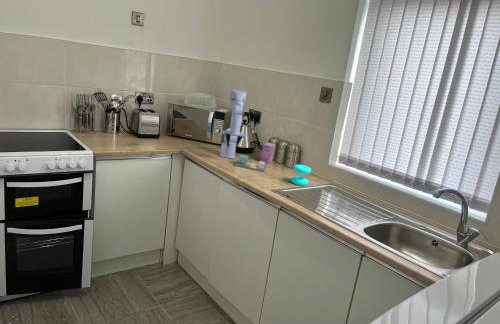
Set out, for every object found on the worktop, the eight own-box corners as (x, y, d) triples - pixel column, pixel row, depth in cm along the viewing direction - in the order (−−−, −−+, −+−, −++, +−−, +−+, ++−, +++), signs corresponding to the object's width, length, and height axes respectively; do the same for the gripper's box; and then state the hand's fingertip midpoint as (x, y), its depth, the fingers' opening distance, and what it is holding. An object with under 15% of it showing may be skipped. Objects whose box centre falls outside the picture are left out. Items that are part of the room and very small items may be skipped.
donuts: (307, 165, 219) (314, 170, 210) (303, 181, 222) (310, 187, 212) (291, 163, 216) (298, 168, 207) (287, 179, 219) (294, 185, 209)
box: (268, 163, 248) (271, 146, 246) (259, 161, 250) (263, 144, 247) (272, 161, 258) (275, 144, 255) (264, 159, 260) (267, 142, 257)
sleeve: (238, 162, 230) (239, 156, 229) (239, 160, 235) (240, 154, 234) (246, 163, 230) (247, 157, 229) (247, 162, 234) (248, 156, 233)
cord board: (234, 165, 227) (235, 159, 226) (237, 161, 239) (238, 155, 238) (264, 172, 226) (265, 165, 225) (265, 167, 237) (266, 161, 236)
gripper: (222, 123, 225) (219, 146, 228) (246, 128, 223) (242, 151, 227) (225, 122, 231) (221, 144, 235) (248, 127, 230) (244, 149, 233)
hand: (232, 147), depth 231 cm, fingers open, 4 cm apart
